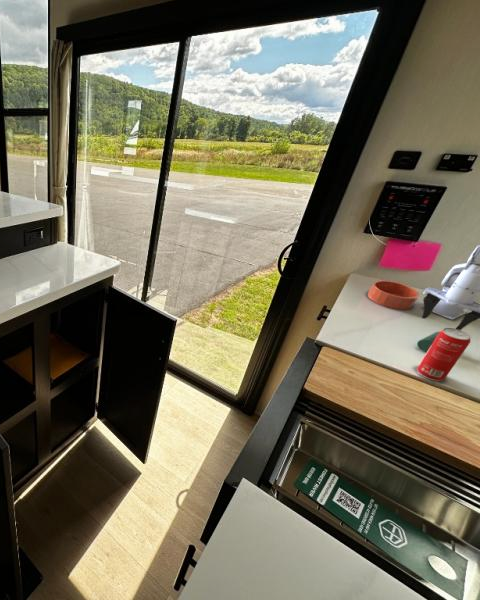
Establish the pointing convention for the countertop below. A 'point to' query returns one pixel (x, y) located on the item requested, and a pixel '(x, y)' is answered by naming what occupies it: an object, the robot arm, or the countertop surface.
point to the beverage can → (443, 353)
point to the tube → (427, 342)
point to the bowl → (393, 294)
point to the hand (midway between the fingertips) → (440, 324)
